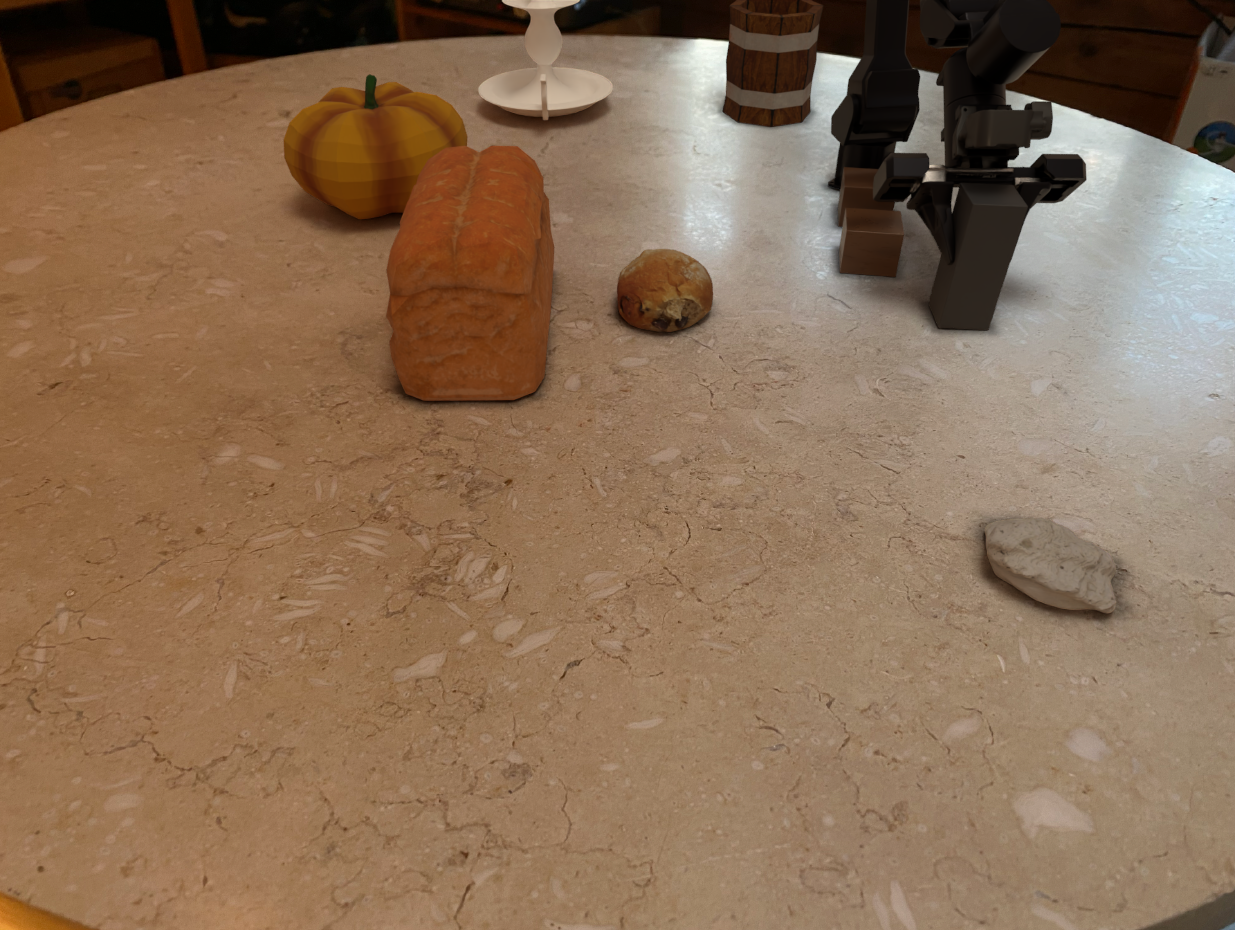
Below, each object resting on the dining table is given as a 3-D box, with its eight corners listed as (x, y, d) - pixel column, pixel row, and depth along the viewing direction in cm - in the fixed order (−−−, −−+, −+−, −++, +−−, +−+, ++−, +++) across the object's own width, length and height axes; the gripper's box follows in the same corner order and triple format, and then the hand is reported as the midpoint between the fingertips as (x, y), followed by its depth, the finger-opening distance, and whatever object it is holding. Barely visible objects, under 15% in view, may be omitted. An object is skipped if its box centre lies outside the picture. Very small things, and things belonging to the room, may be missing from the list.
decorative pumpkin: (292, 181, 123) (264, 62, 114) (458, 161, 129) (445, 45, 119) (301, 246, 108) (271, 115, 99) (489, 220, 114) (477, 93, 104)
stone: (1169, 592, 62) (1038, 576, 60) (1129, 637, 65) (1002, 623, 63) (1099, 492, 70) (980, 475, 68) (1066, 536, 73) (951, 521, 71)
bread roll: (715, 332, 100) (728, 256, 98) (694, 340, 90) (708, 256, 88) (627, 317, 102) (638, 243, 100) (598, 323, 93) (608, 241, 91)
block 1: (837, 206, 117) (843, 167, 113) (887, 209, 116) (894, 170, 113) (838, 226, 112) (844, 186, 109) (889, 230, 111) (897, 189, 108)
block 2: (839, 248, 107) (845, 207, 104) (892, 252, 107) (900, 211, 103) (839, 273, 103) (846, 230, 100) (895, 277, 102) (904, 234, 99)
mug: (817, 127, 139) (831, 17, 129) (725, 126, 139) (733, 17, 129) (798, 85, 154) (810, -15, 145) (716, 85, 154) (722, -15, 145)
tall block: (927, 303, 97) (960, 182, 89) (976, 305, 97) (1013, 184, 89) (938, 328, 93) (973, 203, 85) (988, 330, 93) (1028, 206, 85)
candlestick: (473, 143, 134) (451, -81, 116) (484, 88, 153) (466, -111, 136) (617, 140, 135) (617, -83, 117) (609, 86, 154) (608, -113, 136)
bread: (390, 404, 84) (360, 248, 74) (432, 265, 104) (413, 129, 95) (547, 402, 84) (537, 246, 74) (557, 264, 105) (551, 128, 95)
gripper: (901, 64, 84) (904, 233, 82) (1112, 65, 83) (1119, 235, 82) (870, 123, 95) (872, 273, 93) (1057, 124, 94) (1062, 275, 93)
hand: (978, 264), depth 90 cm, fingers closed on tall block, 5 cm apart
